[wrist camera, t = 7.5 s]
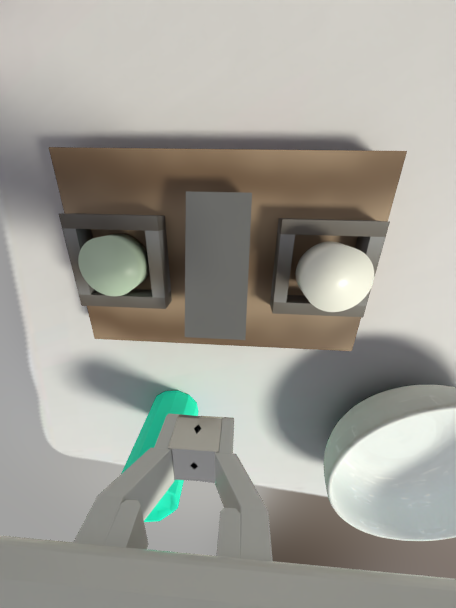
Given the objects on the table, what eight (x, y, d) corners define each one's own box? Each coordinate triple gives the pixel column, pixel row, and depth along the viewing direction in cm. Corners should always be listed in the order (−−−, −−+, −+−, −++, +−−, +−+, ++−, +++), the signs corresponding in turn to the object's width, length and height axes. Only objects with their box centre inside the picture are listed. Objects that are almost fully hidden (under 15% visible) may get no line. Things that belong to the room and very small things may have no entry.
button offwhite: (300, 240, 16) (309, 245, 14) (363, 242, 16) (382, 247, 14) (292, 298, 18) (299, 310, 16) (349, 300, 18) (364, 313, 16)
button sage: (92, 232, 18) (71, 236, 16) (146, 234, 18) (133, 238, 16) (103, 285, 20) (85, 295, 18) (152, 287, 20) (141, 297, 17)
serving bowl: (528, 406, 27) (617, 468, 20) (395, 494, 34) (430, 559, 28) (390, 327, 24) (444, 371, 17) (278, 443, 31) (287, 502, 25)
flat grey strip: (189, 197, 16) (185, 191, 15) (251, 198, 16) (252, 192, 15) (188, 332, 18) (184, 337, 17) (244, 335, 18) (245, 339, 16)
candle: (165, 428, 31) (124, 547, 20) (144, 396, 29) (86, 510, 18) (205, 418, 30) (184, 539, 19) (186, 385, 28) (151, 499, 17)
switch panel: (76, 156, 19) (26, 140, 15) (381, 159, 18) (427, 144, 14) (110, 324, 25) (83, 349, 21) (339, 334, 24) (360, 363, 20)
